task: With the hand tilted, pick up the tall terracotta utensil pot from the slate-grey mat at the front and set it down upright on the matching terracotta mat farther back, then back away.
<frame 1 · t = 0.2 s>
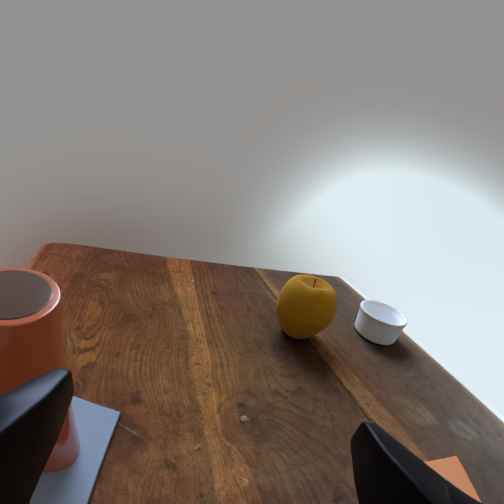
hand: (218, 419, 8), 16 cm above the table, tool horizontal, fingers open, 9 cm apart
terracotta pot: (43, 440, 17), resting on slate mat
slate mat: (44, 443, 17), on the table
apple: (296, 334, 45), on the table
ramekin: (374, 334, 50), on the table
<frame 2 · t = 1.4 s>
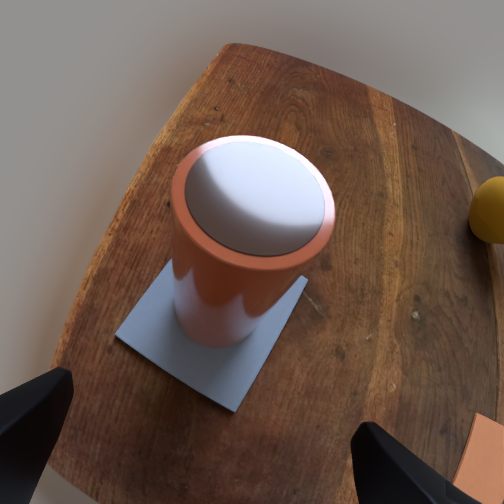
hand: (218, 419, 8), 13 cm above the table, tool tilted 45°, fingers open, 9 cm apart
terracotta pot: (216, 307, 23), resting on slate mat
terracotta mat: (482, 483, 19), on the table
slate mat: (216, 308, 23), on the table
apple: (476, 230, 35), on the table
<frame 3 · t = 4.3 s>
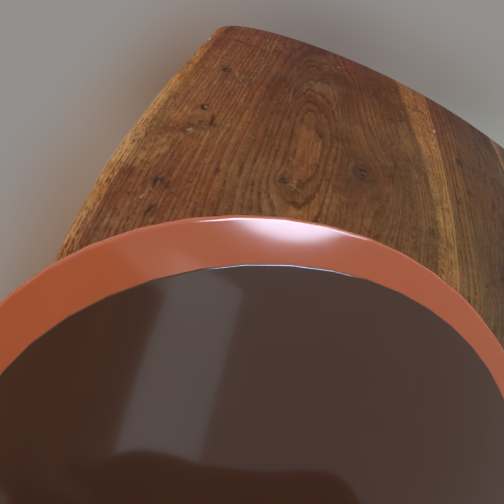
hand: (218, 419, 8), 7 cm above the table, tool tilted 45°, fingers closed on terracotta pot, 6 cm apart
terracotta pot: (200, 440, 13), resting on slate mat, touching gripper
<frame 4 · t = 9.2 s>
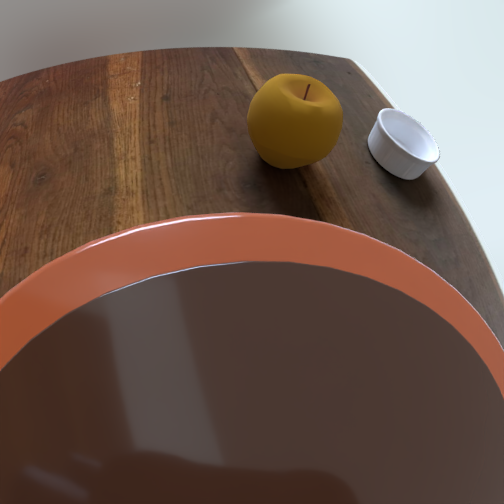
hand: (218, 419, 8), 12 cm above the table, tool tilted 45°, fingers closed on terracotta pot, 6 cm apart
terracotta pot: (200, 439, 13), point 6 cm above the table, touching gripper
apple: (280, 157, 31), on the table
ramekin: (393, 157, 36), on the table
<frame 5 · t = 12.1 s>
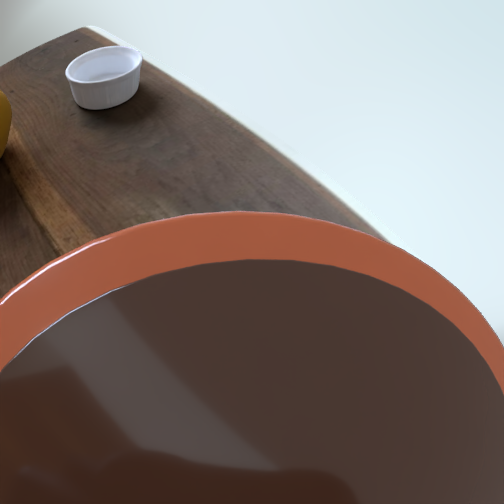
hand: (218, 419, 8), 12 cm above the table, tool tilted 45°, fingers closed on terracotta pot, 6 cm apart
terracotta pot: (200, 439, 13), point 6 cm above the table, touching gripper
ramekin: (106, 93, 31), on the table
when the fingers open (7 cm above the table, at t = 14.4 s): terracotta pot stays where it is, resting on terracotta mat.
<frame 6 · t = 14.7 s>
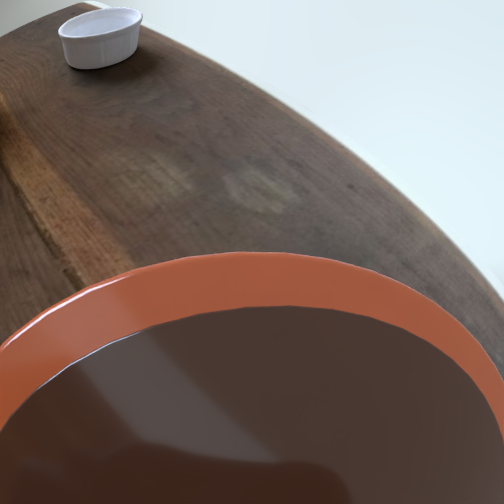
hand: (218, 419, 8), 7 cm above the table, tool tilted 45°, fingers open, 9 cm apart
terracotta pot: (200, 441, 13), resting on terracotta mat, touching gripper
ramekin: (101, 55, 26), on the table
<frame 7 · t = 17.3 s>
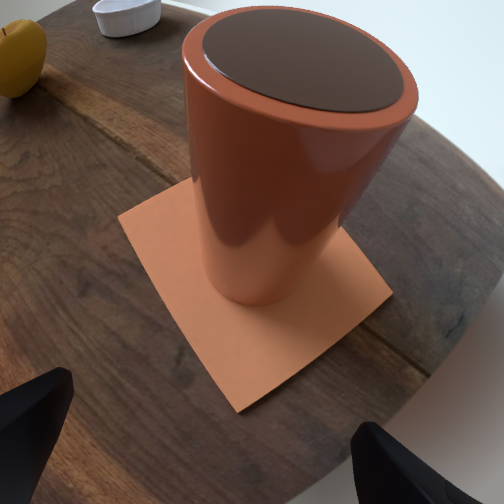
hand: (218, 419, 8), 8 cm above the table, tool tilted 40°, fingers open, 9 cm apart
terracotta pot: (254, 255, 19), resting on terracotta mat
terracotta mat: (254, 257, 19), on the table
apple: (26, 88, 25), on the table
ramekin: (130, 26, 31), on the table
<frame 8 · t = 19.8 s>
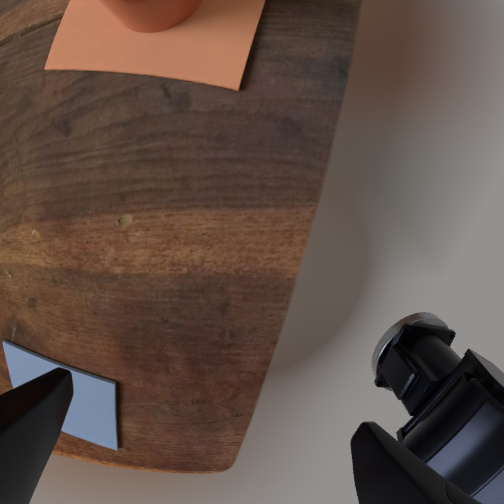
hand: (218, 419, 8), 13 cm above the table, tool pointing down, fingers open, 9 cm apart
slate mat: (60, 399, 24), on the table
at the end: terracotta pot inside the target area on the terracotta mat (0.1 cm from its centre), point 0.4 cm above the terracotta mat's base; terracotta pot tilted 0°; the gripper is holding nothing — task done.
